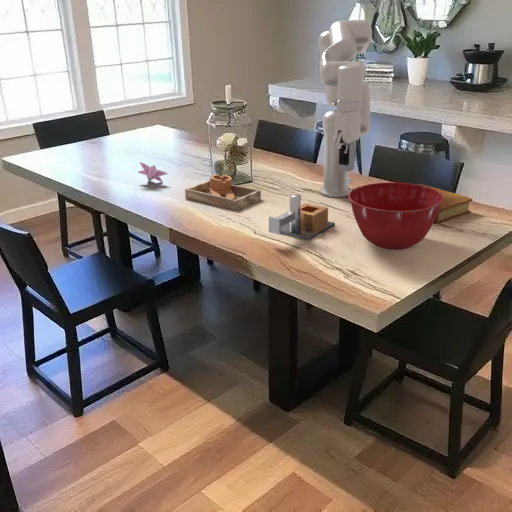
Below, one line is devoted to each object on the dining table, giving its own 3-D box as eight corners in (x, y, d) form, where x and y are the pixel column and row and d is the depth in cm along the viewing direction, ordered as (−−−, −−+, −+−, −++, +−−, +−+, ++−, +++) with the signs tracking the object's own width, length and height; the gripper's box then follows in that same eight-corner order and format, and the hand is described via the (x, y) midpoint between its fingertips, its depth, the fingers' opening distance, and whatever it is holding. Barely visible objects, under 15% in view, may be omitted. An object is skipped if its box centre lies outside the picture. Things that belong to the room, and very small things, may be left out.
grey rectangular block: (344, 167, 207) (345, 134, 202) (354, 168, 205) (355, 135, 200) (338, 169, 204) (340, 136, 200) (348, 171, 202) (350, 137, 198)
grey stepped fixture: (300, 217, 219) (300, 181, 214) (334, 225, 211) (336, 188, 206) (256, 240, 201) (255, 201, 195) (292, 250, 193) (292, 210, 187)
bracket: (208, 191, 247) (209, 174, 244) (228, 191, 249) (230, 174, 246) (213, 206, 231) (214, 188, 228) (235, 206, 233) (237, 189, 230)
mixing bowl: (328, 242, 197) (329, 196, 191) (381, 219, 216) (384, 175, 209) (405, 268, 179) (409, 217, 173) (456, 240, 197) (461, 193, 191)
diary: (384, 208, 227) (385, 193, 225) (418, 198, 237) (420, 183, 235) (436, 225, 210) (437, 209, 208) (470, 213, 220) (472, 197, 218)
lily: (170, 188, 257) (171, 165, 258) (147, 183, 248) (148, 159, 249) (153, 192, 265) (154, 169, 266) (129, 187, 257) (131, 164, 258)
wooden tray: (211, 188, 252) (210, 179, 251) (260, 199, 238) (260, 190, 237) (185, 198, 241) (184, 189, 240) (236, 210, 227) (235, 201, 226)
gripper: (351, 100, 204) (349, 155, 212) (324, 109, 192) (323, 167, 200) (372, 102, 200) (369, 158, 208) (346, 112, 188) (344, 171, 196)
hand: (346, 162), depth 204 cm, fingers closed on grey rectangular block, 3 cm apart
